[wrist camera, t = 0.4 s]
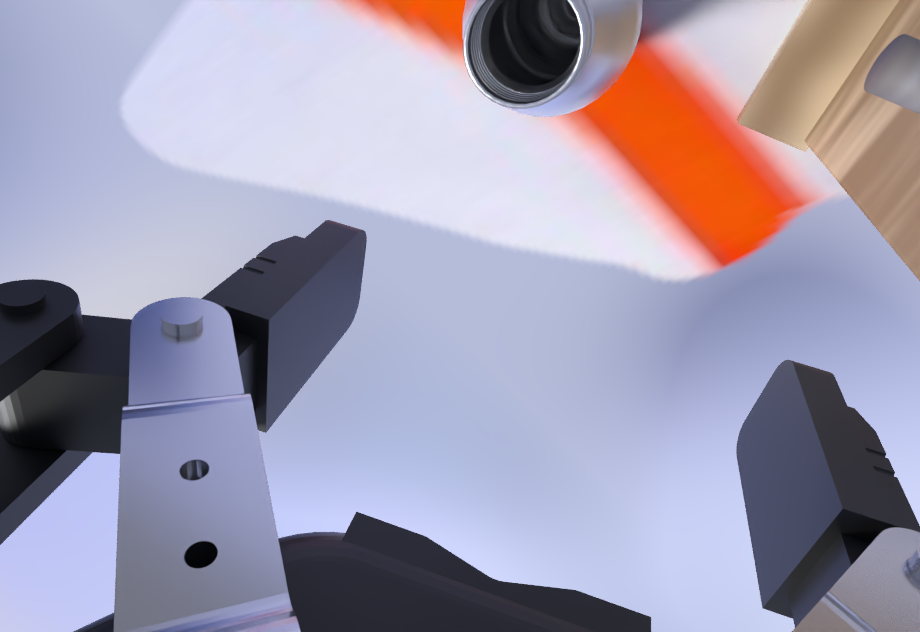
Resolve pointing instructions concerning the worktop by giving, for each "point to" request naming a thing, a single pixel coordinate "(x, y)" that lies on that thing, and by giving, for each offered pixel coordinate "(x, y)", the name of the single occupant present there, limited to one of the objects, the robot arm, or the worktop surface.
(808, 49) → the stand
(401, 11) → the worktop surface
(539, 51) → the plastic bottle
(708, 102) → the worktop surface
